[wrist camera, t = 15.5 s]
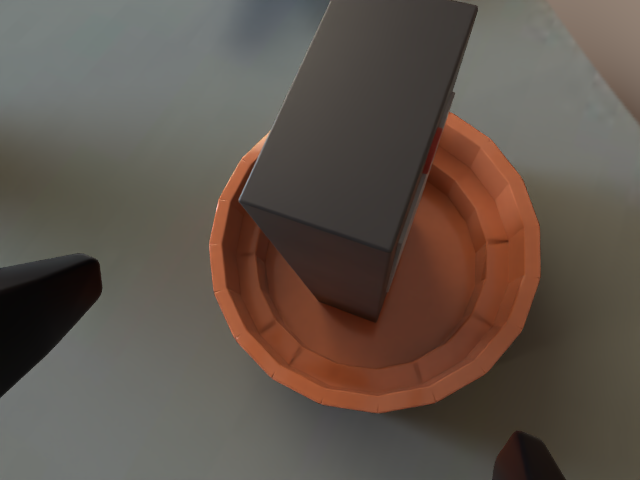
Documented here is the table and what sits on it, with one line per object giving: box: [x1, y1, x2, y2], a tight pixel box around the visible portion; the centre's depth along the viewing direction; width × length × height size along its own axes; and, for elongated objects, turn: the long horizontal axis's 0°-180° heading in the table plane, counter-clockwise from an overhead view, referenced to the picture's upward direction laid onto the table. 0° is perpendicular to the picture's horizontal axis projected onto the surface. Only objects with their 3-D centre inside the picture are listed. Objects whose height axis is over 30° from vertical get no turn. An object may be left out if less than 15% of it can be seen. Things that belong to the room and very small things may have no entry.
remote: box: [239, 0, 478, 323], centre depth 14 cm, size 3×6×13 cm, turn 159°
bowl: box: [209, 112, 541, 413], centre depth 19 cm, size 13×13×4 cm
